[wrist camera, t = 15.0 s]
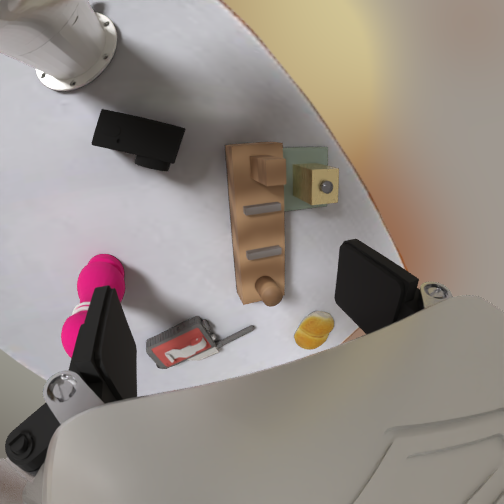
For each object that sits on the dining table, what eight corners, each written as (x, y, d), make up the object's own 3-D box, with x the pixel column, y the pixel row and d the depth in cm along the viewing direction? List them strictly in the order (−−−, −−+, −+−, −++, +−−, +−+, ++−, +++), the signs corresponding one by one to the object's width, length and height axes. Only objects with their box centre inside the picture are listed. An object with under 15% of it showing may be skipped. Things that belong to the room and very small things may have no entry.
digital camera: (100, 151, 32) (87, 154, 26) (111, 113, 30) (100, 108, 24) (169, 167, 36) (171, 173, 30) (181, 130, 34) (185, 128, 28)
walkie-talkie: (163, 368, 50) (253, 326, 52) (165, 385, 46) (261, 340, 48) (138, 341, 46) (236, 293, 48) (138, 357, 42) (243, 307, 44)
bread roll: (287, 342, 57) (295, 354, 53) (306, 307, 54) (315, 319, 51) (316, 344, 60) (325, 355, 57) (335, 312, 58) (345, 323, 54)
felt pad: (281, 147, 40) (282, 148, 39) (326, 146, 42) (327, 147, 41) (282, 210, 44) (283, 211, 44) (325, 205, 46) (326, 206, 46)
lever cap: (292, 164, 41) (314, 170, 35) (317, 163, 42) (341, 169, 36) (293, 195, 43) (313, 206, 37) (317, 193, 44) (340, 203, 38)
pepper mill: (124, 248, 38) (104, 336, 21) (130, 290, 41) (123, 388, 24) (80, 252, 36) (37, 338, 19) (89, 293, 39) (63, 388, 22)
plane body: (224, 145, 37) (245, 148, 28) (271, 141, 39) (303, 145, 30) (236, 291, 47) (255, 327, 39) (275, 283, 49) (300, 315, 40)
